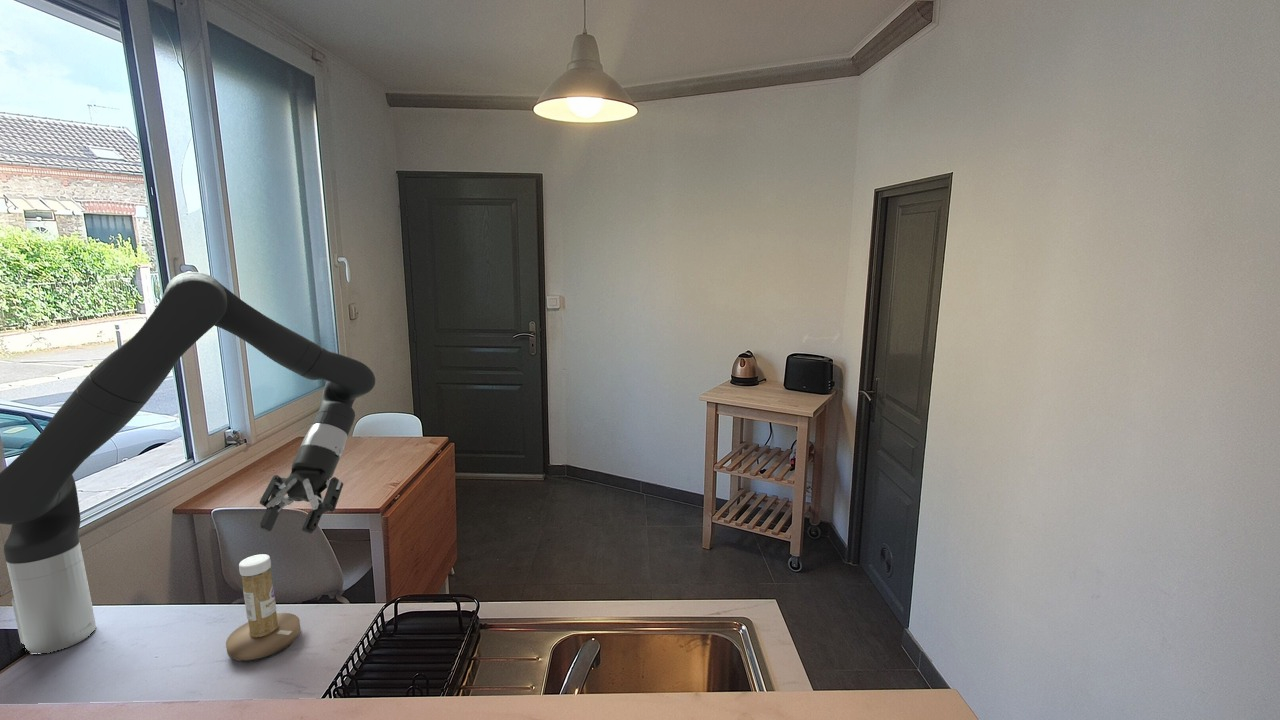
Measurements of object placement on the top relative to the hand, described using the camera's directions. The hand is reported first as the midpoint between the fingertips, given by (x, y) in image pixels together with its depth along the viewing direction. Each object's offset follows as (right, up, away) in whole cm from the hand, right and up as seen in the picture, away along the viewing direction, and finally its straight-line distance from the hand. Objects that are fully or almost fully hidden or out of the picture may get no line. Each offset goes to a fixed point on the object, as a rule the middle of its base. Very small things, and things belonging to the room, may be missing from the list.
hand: (285, 531), depth 108 cm
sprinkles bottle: (-1, -16, -5) cm, 17 cm away
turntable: (-1, -18, -5) cm, 18 cm away
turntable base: (-1, -19, -5) cm, 19 cm away
